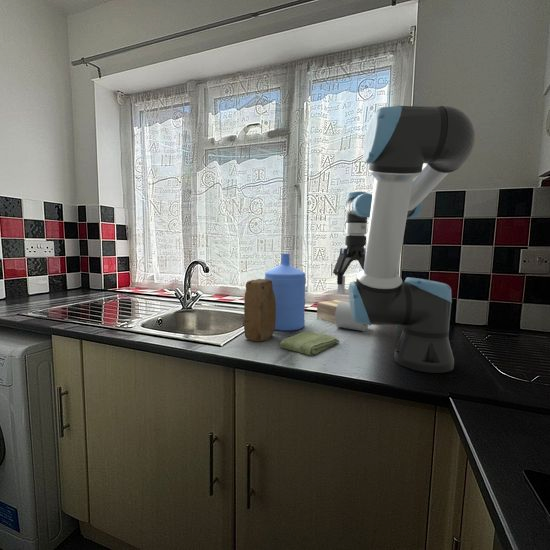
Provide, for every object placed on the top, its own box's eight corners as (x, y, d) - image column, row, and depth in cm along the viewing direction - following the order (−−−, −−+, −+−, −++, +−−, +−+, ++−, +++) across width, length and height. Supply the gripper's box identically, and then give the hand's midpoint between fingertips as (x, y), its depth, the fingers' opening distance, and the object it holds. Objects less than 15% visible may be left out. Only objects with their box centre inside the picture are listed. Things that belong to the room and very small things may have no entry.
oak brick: (339, 325, 133) (340, 307, 132) (316, 318, 144) (317, 302, 143) (360, 320, 141) (361, 304, 140) (337, 314, 151) (338, 299, 150)
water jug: (311, 329, 125) (313, 254, 122) (272, 333, 119) (274, 254, 116) (294, 319, 139) (295, 252, 136) (258, 322, 134) (259, 252, 131)
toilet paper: (369, 328, 129) (370, 302, 128) (360, 334, 120) (361, 306, 119) (344, 324, 134) (345, 299, 133) (334, 329, 126) (335, 303, 125)
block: (259, 344, 107) (259, 282, 105) (241, 339, 111) (241, 280, 109) (278, 336, 116) (279, 279, 113) (261, 332, 120) (262, 277, 118)
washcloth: (341, 344, 109) (341, 334, 109) (312, 358, 96) (312, 347, 95) (307, 336, 117) (307, 327, 117) (276, 348, 104) (276, 338, 103)
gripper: (340, 234, 113) (337, 296, 116) (385, 235, 128) (382, 290, 130) (324, 234, 119) (322, 293, 122) (369, 235, 134) (366, 287, 136)
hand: (353, 291), depth 126 cm, fingers open, 13 cm apart
